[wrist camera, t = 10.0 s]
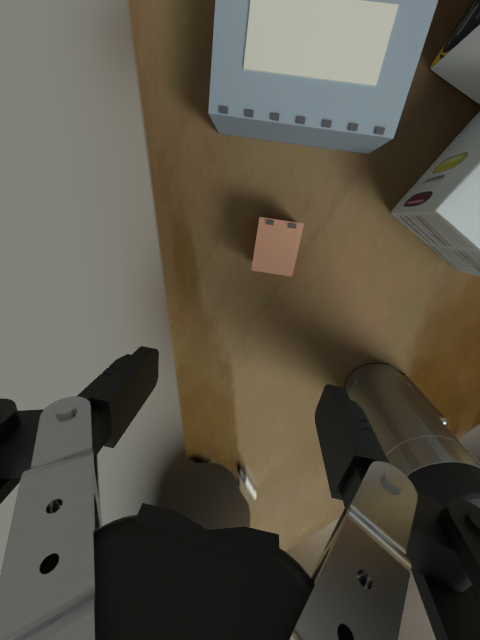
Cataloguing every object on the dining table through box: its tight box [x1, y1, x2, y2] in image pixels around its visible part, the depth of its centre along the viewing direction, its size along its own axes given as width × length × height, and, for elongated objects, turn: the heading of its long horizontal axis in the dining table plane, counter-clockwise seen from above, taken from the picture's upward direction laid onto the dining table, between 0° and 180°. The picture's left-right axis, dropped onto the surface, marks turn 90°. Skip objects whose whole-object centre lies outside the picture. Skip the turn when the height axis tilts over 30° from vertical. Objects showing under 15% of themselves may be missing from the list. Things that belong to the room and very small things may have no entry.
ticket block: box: [208, 0, 438, 154], centre depth 23 cm, size 18×10×6 cm, turn 82°
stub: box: [251, 217, 304, 277], centre depth 30 cm, size 5×6×6 cm
